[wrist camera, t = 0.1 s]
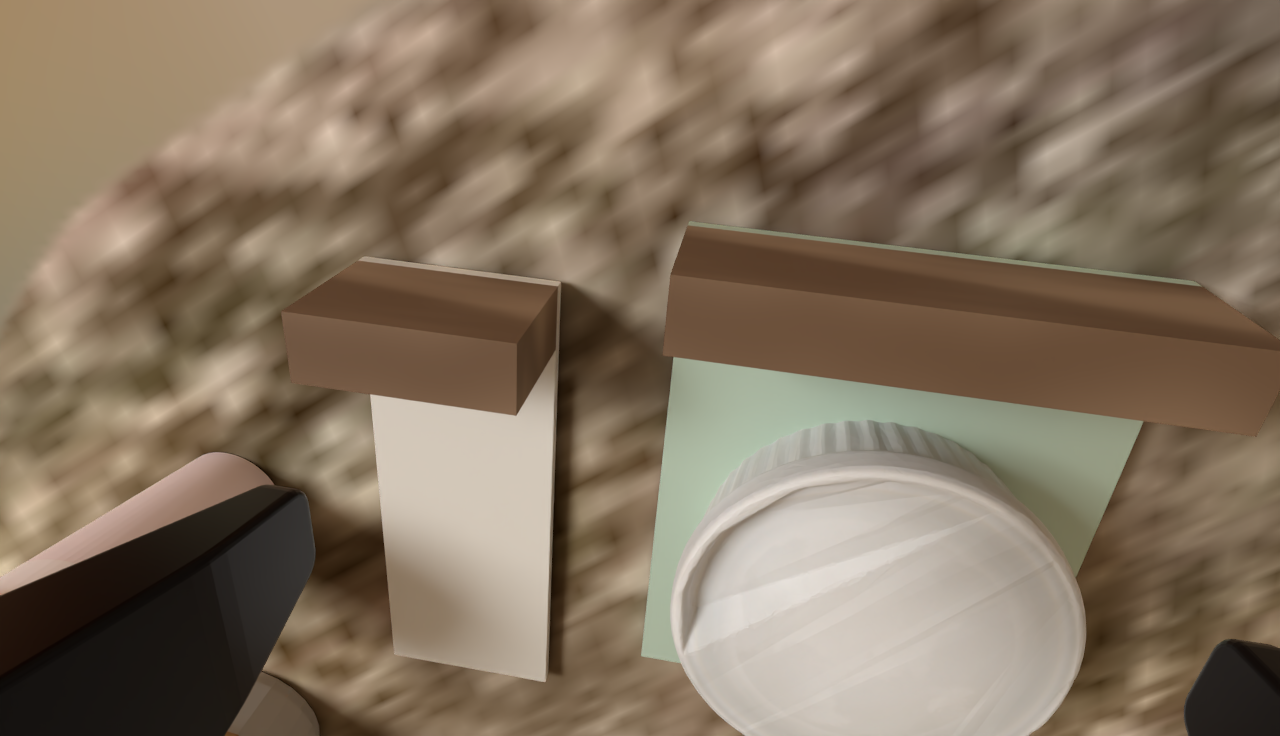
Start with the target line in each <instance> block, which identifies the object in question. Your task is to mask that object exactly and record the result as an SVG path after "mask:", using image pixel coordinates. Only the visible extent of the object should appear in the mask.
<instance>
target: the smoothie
mask: <svg viewBox="0 0 1280 736" xmlns="http://www.w3.org/2000/svg"><path fill="white" fill-rule="evenodd" d="M261 485H274V484H273V482H272V481H271V480H270V478H269V477H268V476H267V475H266V474H265V473H264V472H263V471H262V470H261V469H260V468H258V467H257V466H256V465H254V464H253V463H251V462H249V461H248V460H246V459H244V458H241V457H239V456H236V455H233V454H229V453H222V452H214V453H208V454H205V455H202V456H200V457H198V458H197V459H195V460H193V461H192V462H190V463H188V464H187V465H185V466H184V467H182V468H180V469H179V470H177V471H175V472H174V473H172V474H170V475H169V476H167V477H165V478H164V479H162V480H160V481H159V482H157V483H155V484H154V485H152V486H150V487H149V488H147V489H146V490H144V491H142V492H141V493H139V494H137V495H136V496H134V497H132V498H131V499H129V500H127V501H126V502H124V503H122V504H121V505H119V506H117V507H116V508H114V509H112V510H111V511H109V512H108V513H106V514H104V515H103V516H101V517H99V518H98V519H96V520H94V521H93V522H91V523H89V524H88V525H86V526H84V527H83V528H81V529H79V530H78V531H76V532H74V533H73V534H71V535H70V536H68V537H66V538H65V539H63V540H61V541H60V542H58V543H56V544H55V545H53V546H51V547H50V548H48V549H46V550H45V551H43V552H41V553H40V554H38V555H36V556H35V557H33V558H32V559H30V560H28V561H27V562H25V563H23V564H21V565H19V566H17V567H16V568H14V569H13V570H11V571H9V572H8V573H6V574H5V575H3V576H1V577H0V595H3V594H5V593H7V592H10V591H12V590H14V589H17V588H19V587H21V586H24V585H26V584H29V583H31V582H33V581H36V580H38V579H40V578H43V577H45V576H47V575H50V574H52V573H55V572H57V571H59V570H62V569H64V568H66V567H69V566H71V565H74V564H76V563H78V562H81V561H83V560H85V559H88V558H90V557H92V556H95V555H97V554H100V553H102V552H104V551H107V550H109V549H111V548H114V547H116V546H118V545H121V544H123V543H126V542H128V541H130V540H133V539H135V538H137V537H140V536H142V535H144V534H147V533H149V532H152V531H154V530H156V529H159V528H161V527H163V526H166V525H168V524H171V523H173V522H175V521H178V520H180V519H182V518H185V517H187V516H189V515H192V514H194V513H197V512H199V511H201V510H204V509H206V508H208V507H211V506H213V505H215V504H218V503H220V502H223V501H225V500H227V499H230V498H232V497H234V496H237V495H239V494H242V493H244V492H246V491H249V490H251V489H253V488H256V487H258V486H261Z"/></svg>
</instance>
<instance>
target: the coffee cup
mask: <svg viewBox="0 0 1280 736" xmlns="http://www.w3.org/2000/svg"><path fill="white" fill-rule="evenodd" d="M225 736H320V735H319V724H318V721H317V718H316V716H315V713H314V712H313V710H312V709H311V707H310V706H309V705H308V703H307V702H306V700H305V699H303V698H302V697H301V696H300V695H299V694H298V693H297V692H296V691H295V690H294V689H293V688H291V687H290V686H288V685H287V684H285V683H283V682H282V681H280V680H279V679H277V678H275V677H272V676H270V675H268V674H266V673H263V672H261V673H260V675H259V677H258V679H257V681H256V683H255V685H254V687H253V688H252V690H251V692H250V694H249V696H248V698H247V699H246V701H245V703H244V705H243V707H242V708H241V710H240V712H239V713H238V715H237V716H236V718H235V720H234V721H233V723H232V725H231V726H230V728H229V729H228V731H227V733H226V734H225Z"/></svg>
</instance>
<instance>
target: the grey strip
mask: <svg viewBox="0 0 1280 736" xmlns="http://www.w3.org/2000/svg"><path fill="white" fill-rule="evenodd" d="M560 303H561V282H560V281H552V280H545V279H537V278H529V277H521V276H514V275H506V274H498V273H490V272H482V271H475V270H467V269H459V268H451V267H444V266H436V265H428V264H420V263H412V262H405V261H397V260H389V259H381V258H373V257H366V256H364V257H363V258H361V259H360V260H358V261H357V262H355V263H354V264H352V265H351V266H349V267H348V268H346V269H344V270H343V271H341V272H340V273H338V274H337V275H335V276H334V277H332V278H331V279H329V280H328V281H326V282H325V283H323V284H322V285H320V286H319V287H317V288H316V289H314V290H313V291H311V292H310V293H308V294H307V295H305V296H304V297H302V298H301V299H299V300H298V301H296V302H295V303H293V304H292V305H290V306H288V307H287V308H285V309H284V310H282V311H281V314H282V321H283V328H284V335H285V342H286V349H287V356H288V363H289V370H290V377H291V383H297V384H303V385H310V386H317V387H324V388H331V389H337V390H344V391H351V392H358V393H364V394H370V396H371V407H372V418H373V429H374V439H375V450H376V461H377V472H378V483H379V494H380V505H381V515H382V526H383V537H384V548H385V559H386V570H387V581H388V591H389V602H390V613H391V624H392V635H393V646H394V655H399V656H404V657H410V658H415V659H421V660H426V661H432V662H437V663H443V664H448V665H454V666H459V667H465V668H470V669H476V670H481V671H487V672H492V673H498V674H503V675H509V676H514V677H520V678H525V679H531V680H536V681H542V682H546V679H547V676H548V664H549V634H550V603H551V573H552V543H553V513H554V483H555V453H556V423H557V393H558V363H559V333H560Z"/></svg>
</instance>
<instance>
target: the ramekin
mask: <svg viewBox="0 0 1280 736" xmlns="http://www.w3.org/2000/svg"><path fill="white" fill-rule="evenodd" d="M670 621H671V631H672V636H673V640H674V644H675V648H676V651H677V654H678V657H679V659H680V662H681V664H682V666H683V668H684V670H685V672H686V674H687V676H688V677H689V679H690V681H691V682H692V684H693V685H694V687H695V689H696V690H697V692H698V693H699V694H700V695H701V697H702V698H703V699H704V700H705V701H706V703H707V704H708V705H709V706H710V707H711V708H712V709H713V710H714V711H715V712H716V713H717V714H718V715H719V716H720V717H721V718H722V719H724V720H725V721H726V722H727V723H729V724H730V725H731V726H732V727H734V728H735V729H736V730H738V731H739V732H741V733H742V734H743V735H745V736H1029V735H1030V734H1031V733H1032V732H1034V731H1036V730H1037V729H1039V728H1040V727H1041V726H1042V725H1044V724H1045V723H1046V722H1047V721H1048V720H1049V719H1050V717H1051V716H1052V715H1053V714H1054V712H1055V711H1056V710H1057V709H1058V708H1059V707H1060V705H1061V704H1062V702H1063V700H1064V698H1065V697H1066V695H1067V693H1068V692H1069V690H1070V688H1071V687H1072V684H1073V682H1074V680H1075V679H1076V677H1077V675H1078V672H1079V670H1080V666H1081V663H1082V660H1083V656H1084V650H1085V643H1086V616H1085V609H1084V604H1083V599H1082V595H1081V591H1080V588H1079V586H1078V583H1077V581H1076V578H1075V576H1074V573H1073V571H1072V568H1071V566H1070V564H1069V562H1068V560H1067V558H1066V557H1065V555H1064V553H1063V551H1062V549H1061V548H1060V546H1059V544H1058V543H1057V541H1056V540H1055V538H1054V537H1053V536H1052V534H1051V533H1050V532H1049V530H1048V529H1047V528H1046V527H1045V525H1044V524H1043V523H1042V522H1041V521H1040V520H1039V519H1038V518H1037V516H1036V515H1035V514H1034V513H1033V512H1031V511H1030V510H1029V509H1028V508H1027V507H1026V506H1025V505H1024V504H1023V503H1021V502H1020V501H1019V500H1017V499H1016V497H1015V496H1014V495H1013V494H1012V492H1011V491H1010V490H1009V489H1008V488H1007V486H1006V485H1005V484H1004V482H1003V481H1002V480H1001V479H999V478H998V477H997V476H996V475H995V474H994V472H993V471H992V470H991V468H990V467H989V466H988V465H986V464H984V463H982V462H981V461H979V460H978V459H977V458H976V456H975V455H974V454H973V453H972V452H970V451H967V450H965V449H963V448H962V447H960V446H959V445H958V444H957V443H955V442H954V441H951V440H947V439H945V438H943V437H941V436H939V435H938V434H935V433H931V432H926V431H923V430H921V429H919V428H917V427H910V426H902V425H899V424H897V423H894V422H886V423H880V422H876V421H873V420H863V421H841V422H838V423H824V424H821V425H818V426H816V427H813V428H807V429H801V430H798V431H796V432H795V433H793V434H791V435H787V436H784V437H781V438H779V439H777V440H776V441H775V442H773V443H772V444H770V445H767V446H764V447H762V448H760V449H759V450H758V451H757V452H756V453H755V454H753V455H752V456H750V457H748V458H746V459H745V460H743V462H742V463H741V465H740V466H739V467H738V468H736V469H735V470H733V471H732V472H731V473H730V474H729V476H728V477H727V479H726V480H725V482H724V483H723V484H722V485H721V486H720V487H719V489H718V491H717V493H716V495H715V497H714V498H713V499H712V501H711V502H710V505H709V507H708V509H707V511H706V513H705V515H704V517H703V519H702V520H701V522H700V523H699V525H698V526H697V527H696V529H695V530H694V532H693V534H692V535H691V537H690V539H689V540H688V542H687V544H686V546H685V548H684V550H683V553H682V555H681V558H680V560H679V563H678V566H677V570H676V574H675V578H674V582H673V588H672V594H671V604H670Z"/></svg>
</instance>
